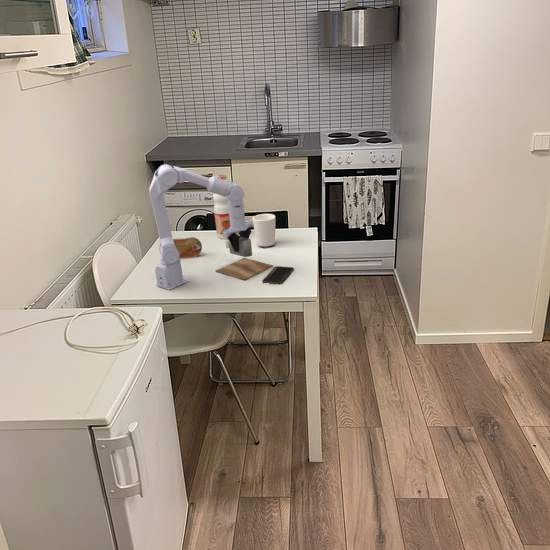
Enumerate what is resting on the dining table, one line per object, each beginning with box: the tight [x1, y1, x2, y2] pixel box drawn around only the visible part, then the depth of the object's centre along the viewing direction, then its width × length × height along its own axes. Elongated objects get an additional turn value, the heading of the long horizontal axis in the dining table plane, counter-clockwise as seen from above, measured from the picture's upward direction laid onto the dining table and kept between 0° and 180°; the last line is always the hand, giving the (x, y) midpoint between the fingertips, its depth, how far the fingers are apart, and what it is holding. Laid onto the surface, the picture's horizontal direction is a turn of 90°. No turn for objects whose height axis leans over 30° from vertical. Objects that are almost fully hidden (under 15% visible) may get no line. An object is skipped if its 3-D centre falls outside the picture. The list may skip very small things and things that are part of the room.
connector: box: [224, 237, 253, 258], centre depth 218 cm, size 4×12×6 cm, turn 49°
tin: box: [173, 236, 203, 260], centre depth 238 cm, size 15×3×8 cm, turn 92°
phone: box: [261, 265, 295, 286], centre depth 213 cm, size 8×1×15 cm
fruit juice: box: [212, 174, 238, 240], centre depth 255 cm, size 9×9×28 cm
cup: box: [252, 213, 277, 249], centre depth 243 cm, size 10×10×13 cm
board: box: [215, 257, 274, 281], centre depth 222 cm, size 16×16×1 cm
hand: (240, 249), depth 218 cm, fingers closed on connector, 4 cm apart
